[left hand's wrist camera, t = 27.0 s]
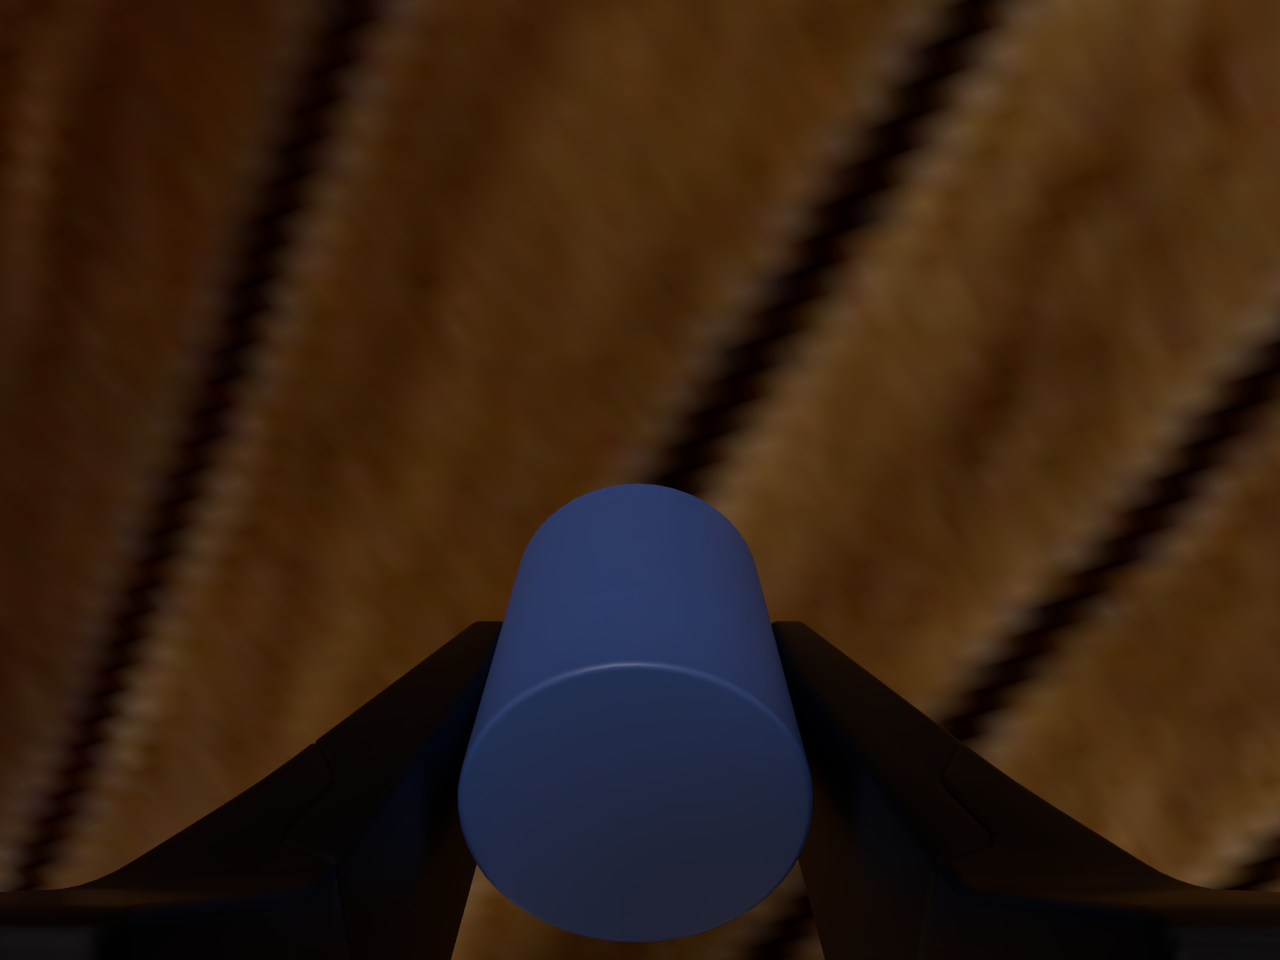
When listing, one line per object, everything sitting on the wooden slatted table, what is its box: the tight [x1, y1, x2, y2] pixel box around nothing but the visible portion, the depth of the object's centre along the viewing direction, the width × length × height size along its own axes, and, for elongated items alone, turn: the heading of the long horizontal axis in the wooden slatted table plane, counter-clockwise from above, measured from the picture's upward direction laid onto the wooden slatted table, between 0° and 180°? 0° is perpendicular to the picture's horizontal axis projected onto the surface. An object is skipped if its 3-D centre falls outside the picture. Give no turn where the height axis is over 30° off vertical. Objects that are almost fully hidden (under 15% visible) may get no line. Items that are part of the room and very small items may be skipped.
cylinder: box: [458, 484, 814, 942], centre depth 10 cm, size 4×4×4 cm
